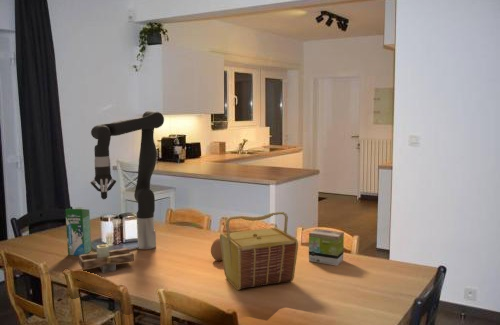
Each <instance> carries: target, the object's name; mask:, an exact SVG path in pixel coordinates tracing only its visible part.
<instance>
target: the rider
mask: <svg viewBox="0 0 500 325" xmlns="http://www.w3.org/2000/svg"><path fill="white" fill-rule="evenodd" d="M109 251H110V246H109V245H108V244H97V245H96V252H97V258H102V257H108V256H109Z"/></svg>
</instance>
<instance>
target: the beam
mask: <svg viewBox="0 0 500 325" xmlns="http://www.w3.org/2000/svg"><path fill="white" fill-rule="evenodd" d="M77 256H78V257H77V258H78V264H79V265H80V267H81V269H82V270H87V269H94V268H95V269H96V268H99V269H100V271H101V272H102V273H103V274H105V273H112V272H116V271H117V264H118V265H120V264H126V263H132V262H135V254H134V252H130V248H129V247H126V248H125V247H124V248H118V249H112V250H110V249H109V256H108V257H102V258H97V251H96V252H92V253H90V252H89V253H87V254H83V255H77Z"/></svg>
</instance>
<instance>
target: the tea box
mask: <svg viewBox="0 0 500 325" xmlns="http://www.w3.org/2000/svg"><path fill="white" fill-rule="evenodd" d="M308 236H309V237H308V262H313V263H318V264H325V265H331V266H335V267H338V266H339V265H340V264H341V263H342V262H343V261H344V247H345V246H344V245H345V244H344V240H345V237H344V236H345V232H343V231H337V230H335V231H334V230H330V229H329V230H328V229H320V228H315V229H314V230H312V231H310V232H309V233H308Z"/></svg>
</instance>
